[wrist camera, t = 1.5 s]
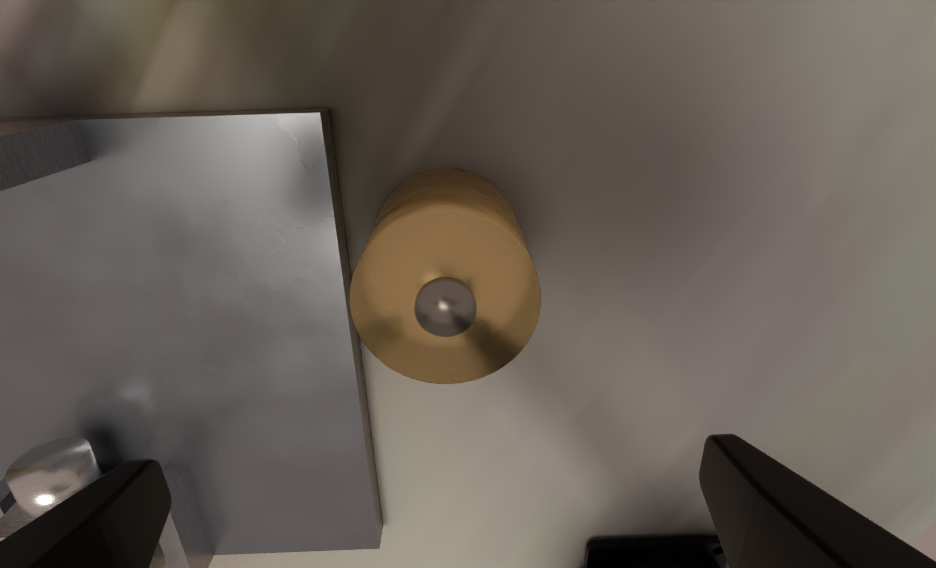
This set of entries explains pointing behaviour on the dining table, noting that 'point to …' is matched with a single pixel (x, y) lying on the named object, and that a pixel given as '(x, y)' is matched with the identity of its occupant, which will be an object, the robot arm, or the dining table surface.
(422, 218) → the cylinder
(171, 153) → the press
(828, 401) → the dining table surface
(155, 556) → the ram
